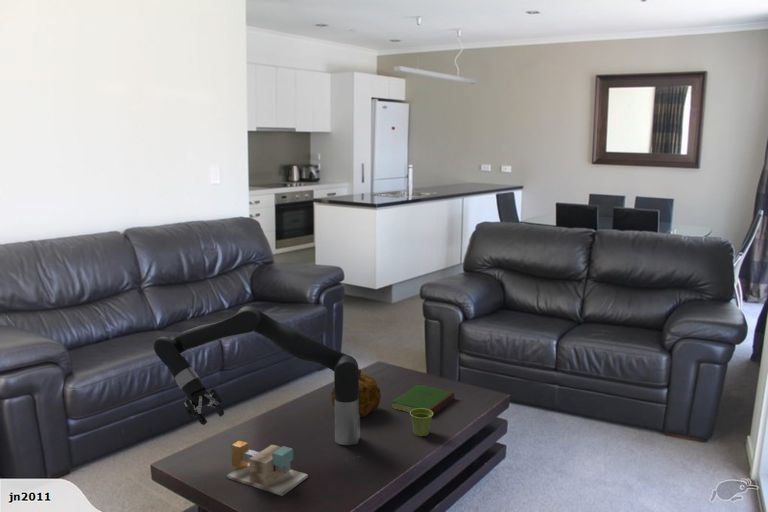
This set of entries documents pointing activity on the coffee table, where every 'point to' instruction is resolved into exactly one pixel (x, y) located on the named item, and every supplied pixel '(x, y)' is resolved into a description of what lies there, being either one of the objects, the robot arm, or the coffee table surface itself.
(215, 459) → the coffee table surface
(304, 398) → the coffee table surface
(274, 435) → the coffee table surface
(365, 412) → the decorative pumpkin
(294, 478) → the base board
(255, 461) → the bearing block
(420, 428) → the plant pot
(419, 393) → the hardcover book
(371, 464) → the coffee table surface
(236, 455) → the shaft
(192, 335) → the robot arm
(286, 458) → the block
